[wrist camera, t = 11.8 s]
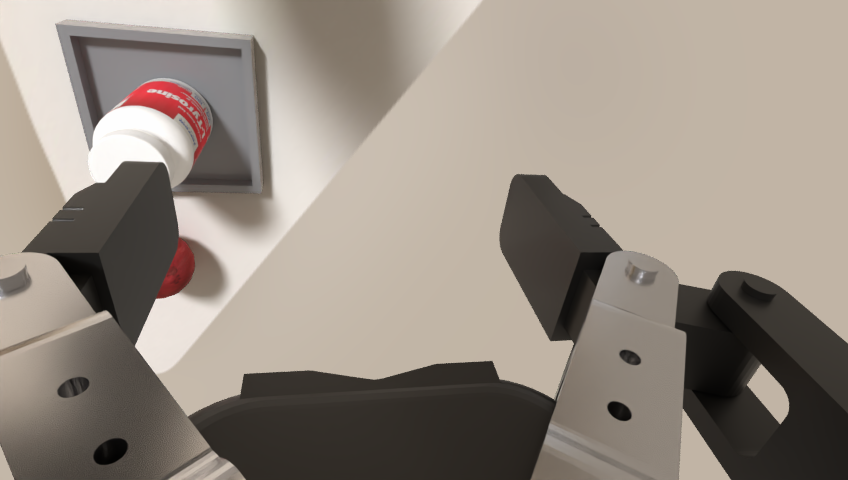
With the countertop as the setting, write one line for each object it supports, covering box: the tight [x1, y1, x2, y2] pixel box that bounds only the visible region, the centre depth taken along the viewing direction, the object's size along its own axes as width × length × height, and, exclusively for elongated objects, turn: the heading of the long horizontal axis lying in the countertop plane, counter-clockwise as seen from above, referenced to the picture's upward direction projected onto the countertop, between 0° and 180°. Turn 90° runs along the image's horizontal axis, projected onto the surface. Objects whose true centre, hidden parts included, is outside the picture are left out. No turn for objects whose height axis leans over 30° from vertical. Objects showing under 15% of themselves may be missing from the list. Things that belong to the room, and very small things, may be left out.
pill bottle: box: [88, 78, 213, 188], centre depth 35 cm, size 6×6×11 cm
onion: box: [156, 238, 195, 299], centre depth 43 cm, size 6×6×8 cm
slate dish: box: [55, 20, 263, 193], centre depth 40 cm, size 13×13×2 cm
